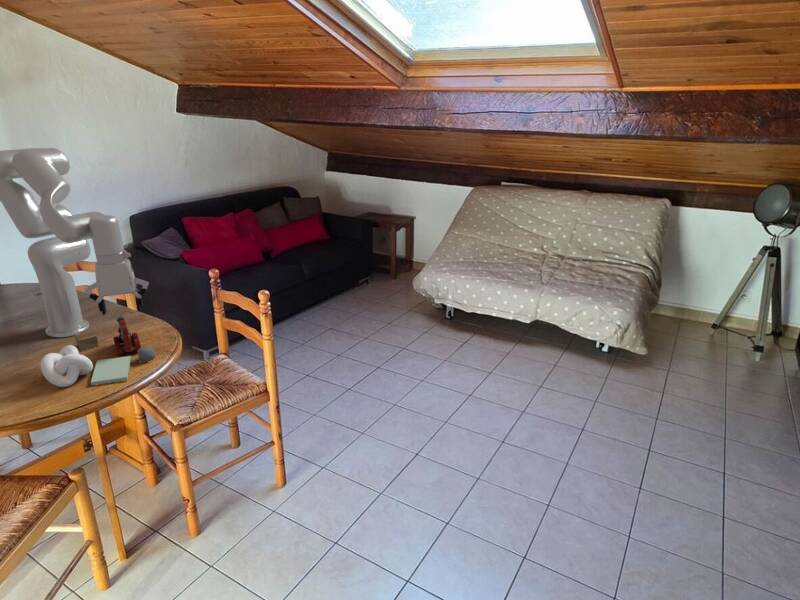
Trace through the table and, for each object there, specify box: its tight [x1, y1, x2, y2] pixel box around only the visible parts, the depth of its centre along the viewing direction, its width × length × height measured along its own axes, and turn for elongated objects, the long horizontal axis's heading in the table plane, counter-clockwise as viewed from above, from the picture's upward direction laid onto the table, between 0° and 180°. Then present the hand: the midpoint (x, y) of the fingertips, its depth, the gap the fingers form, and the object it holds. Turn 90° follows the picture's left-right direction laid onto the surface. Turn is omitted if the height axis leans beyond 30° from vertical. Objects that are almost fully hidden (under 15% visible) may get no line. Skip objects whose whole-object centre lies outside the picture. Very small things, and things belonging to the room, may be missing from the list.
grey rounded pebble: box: [137, 345, 156, 363], centre depth 156 cm, size 4×4×4 cm
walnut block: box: [74, 330, 100, 352], centre depth 163 cm, size 5×5×4 cm
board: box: [90, 355, 132, 386], centre depth 149 cm, size 13×9×1 cm
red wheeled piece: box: [112, 316, 142, 357], centre depth 160 cm, size 7×12×10 cm, turn 32°
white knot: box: [40, 344, 94, 388], centre depth 144 cm, size 11×12×9 cm
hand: (122, 311), depth 157 cm, fingers open, 9 cm apart
